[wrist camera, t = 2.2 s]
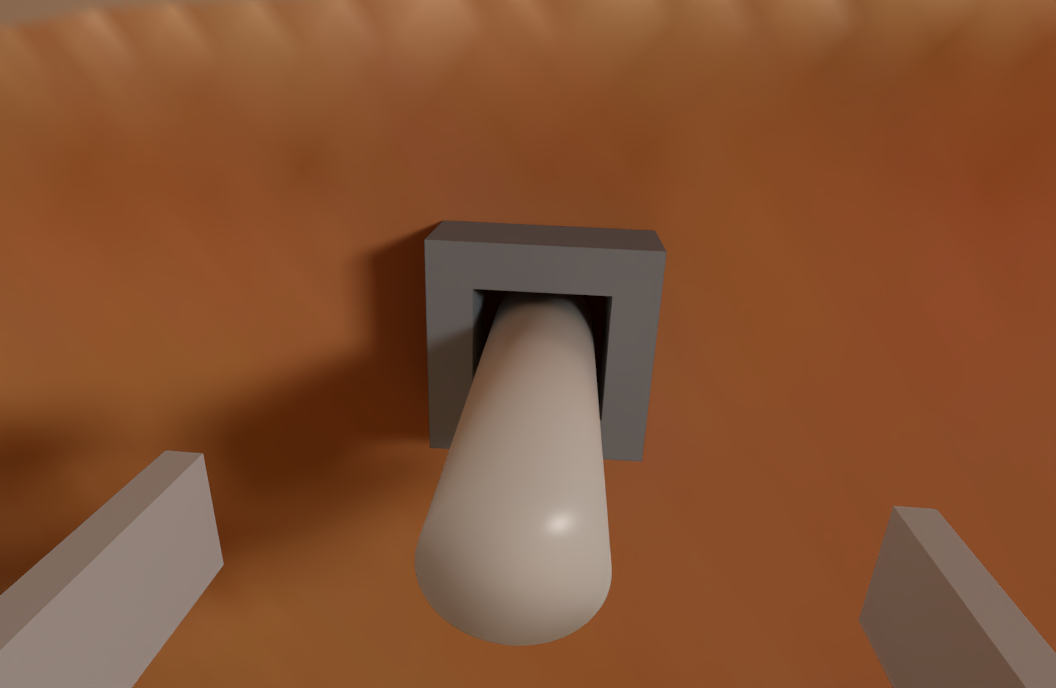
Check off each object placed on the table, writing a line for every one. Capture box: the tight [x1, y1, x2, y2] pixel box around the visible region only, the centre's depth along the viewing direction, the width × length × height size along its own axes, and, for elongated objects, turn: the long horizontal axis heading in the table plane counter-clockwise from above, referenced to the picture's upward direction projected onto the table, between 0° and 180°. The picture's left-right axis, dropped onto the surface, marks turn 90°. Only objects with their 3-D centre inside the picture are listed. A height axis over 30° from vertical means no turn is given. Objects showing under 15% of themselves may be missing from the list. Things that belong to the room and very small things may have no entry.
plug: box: [415, 291, 612, 646], centre depth 18 cm, size 4×4×13 cm
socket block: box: [424, 221, 666, 461], centre depth 22 cm, size 7×7×3 cm
